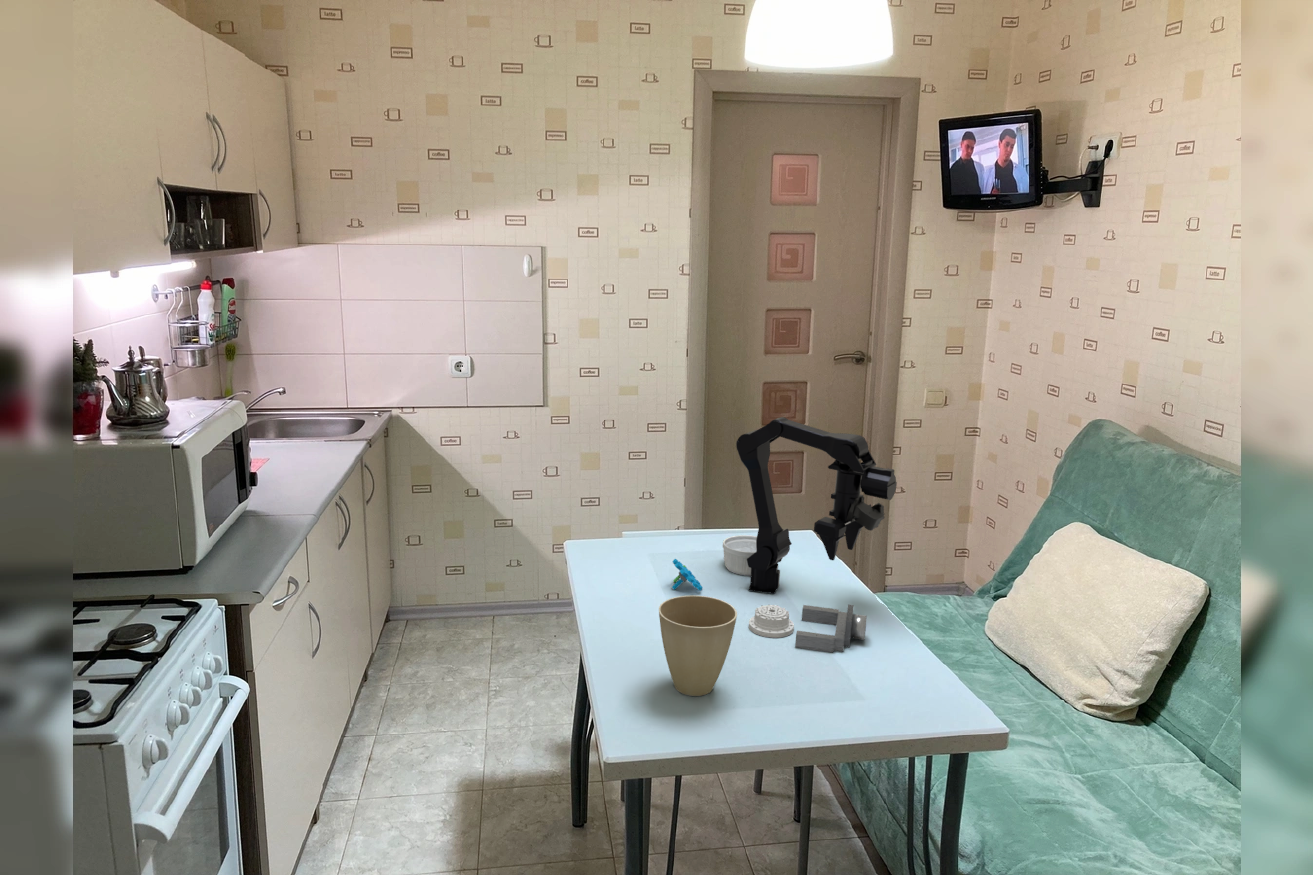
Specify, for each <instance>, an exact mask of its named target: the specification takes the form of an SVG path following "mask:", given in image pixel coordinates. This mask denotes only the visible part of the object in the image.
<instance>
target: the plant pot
mask: <svg viewBox="0 0 1313 875" xmlns="http://www.w3.org/2000/svg"><path fill="white" fill-rule="evenodd" d="M737 617H738V611H737V609H736V608H735V607H734V606H733V605H732V604H730V603H729V602H727V601H725V600H722V599H720V598H716V597H713V596H712V597H711V596H705V595H680V596H675V597H671V598H669V599H666V600H664V601H663V602H662V603H660V605H659V606H658V618H659V626H660V634H661V638H662V645H663V650H664V654H665V655H664V656H665V659H666V663H667V666H668V669H669V673H670V676H671V680H672V683H673V685H674V688H675V689H676V690H677V692H679V693H681V694H682V695H686V696H689V697H702V696H705V695H708V694H710V693H711V692H712V691H713V689H714V687H715V685H716V683H717V681H718V679H719V676H720V675H721V672H722V670H723V667H724V664H725V661H726V659H727V655H728V654H729V651H730V647H731V643H732V641H733V640H732V639H733V636H734V632H735V631H734V630H735V626H736V623H737Z"/></svg>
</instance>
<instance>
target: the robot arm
mask: <svg viewBox="0 0 1313 875" xmlns="http://www.w3.org/2000/svg"><path fill="white" fill-rule="evenodd" d="M779 438H784V439H785V440H789V441H793V442H796V443H798V444H802V445H805V446H807V447H810V448H815V449H817V450H821V451H822V452H825V453H826V454H827V455H828V456H830V457H831V459H834V461H833V462H832V463H831V464H829V465H828V466H827V468H828V469H829V470H832V471H836V475H835V477H836V478H835V485H834V492H833V493H831V494H830V499H832V500H833V505H832V506H833V507H832V509H831V510H829V514H828V516H824V517H821V518H820V519H818V520H817V521H815V522H814V525H813V532H815V533H816V534H817V535H819V537H820V540H821V541H822V544H823V547H824V549H825V552H826V554H827V557H828V559H829V560H830V561H835V559H836V556H837V552H838V547H839V543H840V540H842V539H843V538H844V537H845V542H846V547H847V550H850V551H852V550H854V547H855V545H856V543H857V540H858V537H859V535H860V533H861V531H862V529H863V528H864V529H865V530H867V531H873V530H875V529H876V528H878V527H879V525H880V524H881V521H883V520H884V519H885V507H884V505H883V504H882V503H880V502H878V503H876V504H874V505H872V504H871V503H869V504H867V503H866V502H865V496H869V497H872V498H873V497H875V498H877V499H878V498H879V499H883V500H888V501H891V500H892V499H893V498H894V496H895V493H896V490H897V486H898V485H897V484H898V482H897V478H896V475H895V469H893V468H889V467H888V468H884V467H880V466H877V463H876V460H875V459H874V457H873V455H872V454H871V452H870V450H869V444H868V442H867V440H866V438H865V437H863V436H862V435H859V434H854V433H853V434H852V433H841V432H840V433H839V432H838V433H837V432H836V433H835V432H829V431H827V430H823V429H820V428H816V427H813V426H810V425H806V424H803V423H800V422H797V421H794V420H791V419H788V418H787V417H784V416H782V417H778V418H775V419H772V420H771V421H770V422H769V423H767V424H765V425H763V426H762V427H761V428H759V429H754V430H752V431H749V432H746V433H743V434H741V435H740V436H739V437H738V439H736V443H735V448H736V451H737V453H738V456H739V459H740V461H741V463H742V464H743V465H744V467H745V468H746V470H747V473H748V477H749V482H750V487H751V488H750V489H751V493H752V497H753V498H752V499H753V502H754V509H755V514H756V519H757V523H758V524H757V525H758V529H757V535H756V536H757V539H756V552H755V553H754V554H753V555H751V556H750V557H749V558H747V563H748V567H750V568H751V576H750V584H749V586H748V591H750V592H758V593H764V594H770V595H771V594H772V595H775V594H776V593H777V592H776V591H777V590H778V589H779V587H780V577H781V569H779V563H781V562H782V560H783V558H785V557H786V556H787V555H788V553H789V552H790V550H791V548H790V547H791V545H792V542H791V539H790V531H789V529H788V528H784V529H783V528H782V526H781V525H780V523H779V520H778V515H777V509H776V504H775V498H774V494H773V488H772V484H771V483H772V482H771V477H770V473H769V472H770V471H769V465H768V464H769V461H770V457H771V444H772V443H773V442H774V441H777V439H779ZM860 460H861V461H860ZM861 493H863V494H864V495H865V496H864V495H863V494H861ZM829 516H831V517H833V518H831V517H829Z"/></svg>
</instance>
